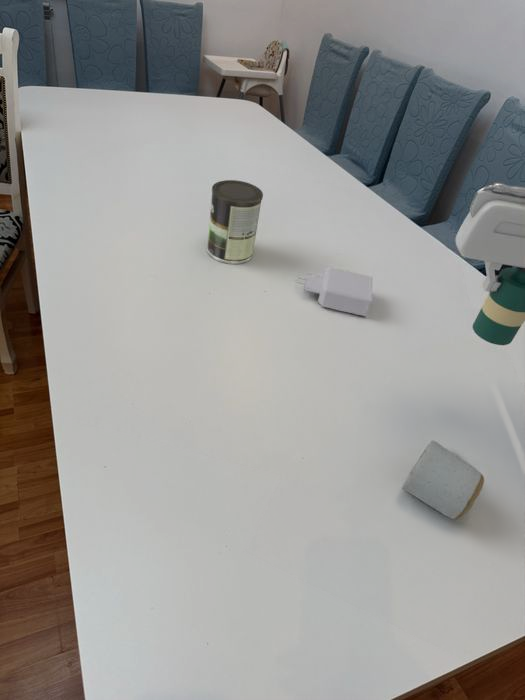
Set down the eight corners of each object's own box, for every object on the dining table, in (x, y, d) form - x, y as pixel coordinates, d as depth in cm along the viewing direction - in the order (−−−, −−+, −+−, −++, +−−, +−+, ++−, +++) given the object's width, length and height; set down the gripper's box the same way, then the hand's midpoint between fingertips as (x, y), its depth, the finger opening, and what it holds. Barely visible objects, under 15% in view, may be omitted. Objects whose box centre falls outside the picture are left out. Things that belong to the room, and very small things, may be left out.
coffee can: (200, 257, 105) (205, 194, 96) (214, 236, 113) (220, 175, 104) (247, 269, 104) (257, 206, 95) (257, 246, 112) (267, 186, 103)
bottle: (506, 324, 73) (545, 255, 65) (517, 348, 68) (561, 278, 61) (468, 317, 73) (503, 248, 65) (477, 341, 68) (516, 270, 61)
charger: (296, 277, 105) (366, 293, 104) (290, 301, 98) (365, 318, 97) (300, 258, 102) (372, 274, 101) (295, 281, 95) (372, 299, 94)
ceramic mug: (453, 534, 63) (480, 500, 58) (395, 498, 66) (415, 462, 61) (475, 481, 71) (500, 446, 66) (421, 450, 73) (441, 415, 69)
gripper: (489, 190, 55) (442, 293, 64) (669, 222, 55) (597, 321, 64) (475, 169, 60) (434, 268, 69) (641, 199, 60) (578, 294, 69)
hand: (514, 294), depth 66 cm, fingers closed on bottle, 5 cm apart
